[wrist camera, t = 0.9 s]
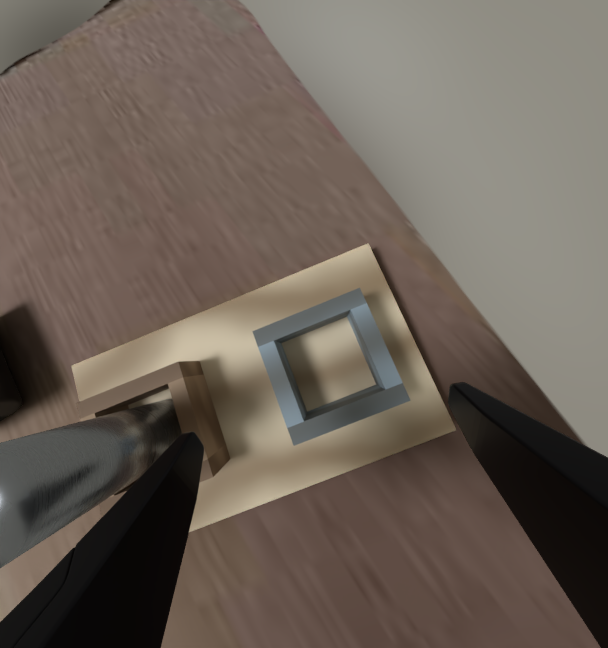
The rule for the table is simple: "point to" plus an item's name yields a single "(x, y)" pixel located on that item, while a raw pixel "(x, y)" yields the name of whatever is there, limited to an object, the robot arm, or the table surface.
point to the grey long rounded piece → (75, 470)
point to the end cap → (7, 391)
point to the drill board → (279, 384)
